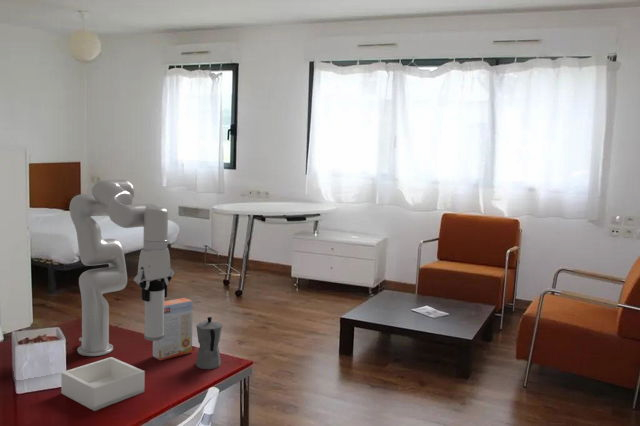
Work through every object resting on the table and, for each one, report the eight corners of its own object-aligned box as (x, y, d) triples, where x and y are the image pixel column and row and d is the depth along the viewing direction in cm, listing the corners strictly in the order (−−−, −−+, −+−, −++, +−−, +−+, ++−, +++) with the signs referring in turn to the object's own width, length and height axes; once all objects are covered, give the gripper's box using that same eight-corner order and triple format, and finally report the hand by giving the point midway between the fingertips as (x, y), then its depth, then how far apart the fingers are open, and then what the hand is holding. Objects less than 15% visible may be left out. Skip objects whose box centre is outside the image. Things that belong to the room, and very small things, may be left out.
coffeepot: (193, 359, 217) (194, 312, 215) (218, 357, 220) (219, 311, 218) (198, 375, 203) (200, 325, 201) (225, 372, 206) (227, 323, 204)
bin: (61, 393, 184) (61, 372, 183) (111, 376, 198) (111, 356, 197) (94, 411, 173) (94, 388, 172) (144, 391, 188) (144, 371, 187)
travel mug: (139, 339, 191) (140, 280, 188) (152, 333, 197) (153, 275, 194) (155, 342, 189) (156, 282, 186) (167, 336, 195) (168, 278, 192)
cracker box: (184, 348, 227) (185, 296, 225) (192, 353, 223) (193, 300, 220) (151, 356, 218) (152, 302, 215) (159, 361, 213) (159, 306, 211)
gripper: (168, 240, 198) (167, 291, 200) (125, 246, 184) (125, 301, 186) (183, 243, 194) (182, 295, 196) (140, 250, 180) (139, 306, 182)
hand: (154, 298), depth 191 cm, fingers closed on travel mug, 6 cm apart
